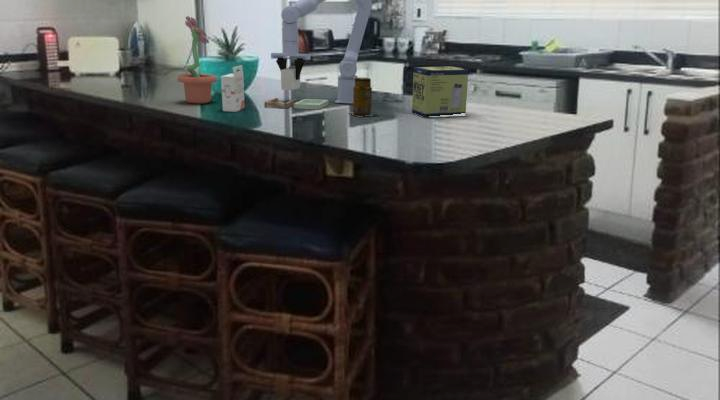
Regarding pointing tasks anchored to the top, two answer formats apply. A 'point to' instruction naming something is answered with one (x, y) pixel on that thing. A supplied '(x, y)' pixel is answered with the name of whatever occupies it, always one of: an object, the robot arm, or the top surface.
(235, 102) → the ink cartridge box
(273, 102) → the caddy bay
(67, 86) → the top surface
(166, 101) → the top surface
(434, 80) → the protein box
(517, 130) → the top surface
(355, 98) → the condiment
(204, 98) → the decorative flower
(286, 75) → the light grey square block
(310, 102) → the tray
